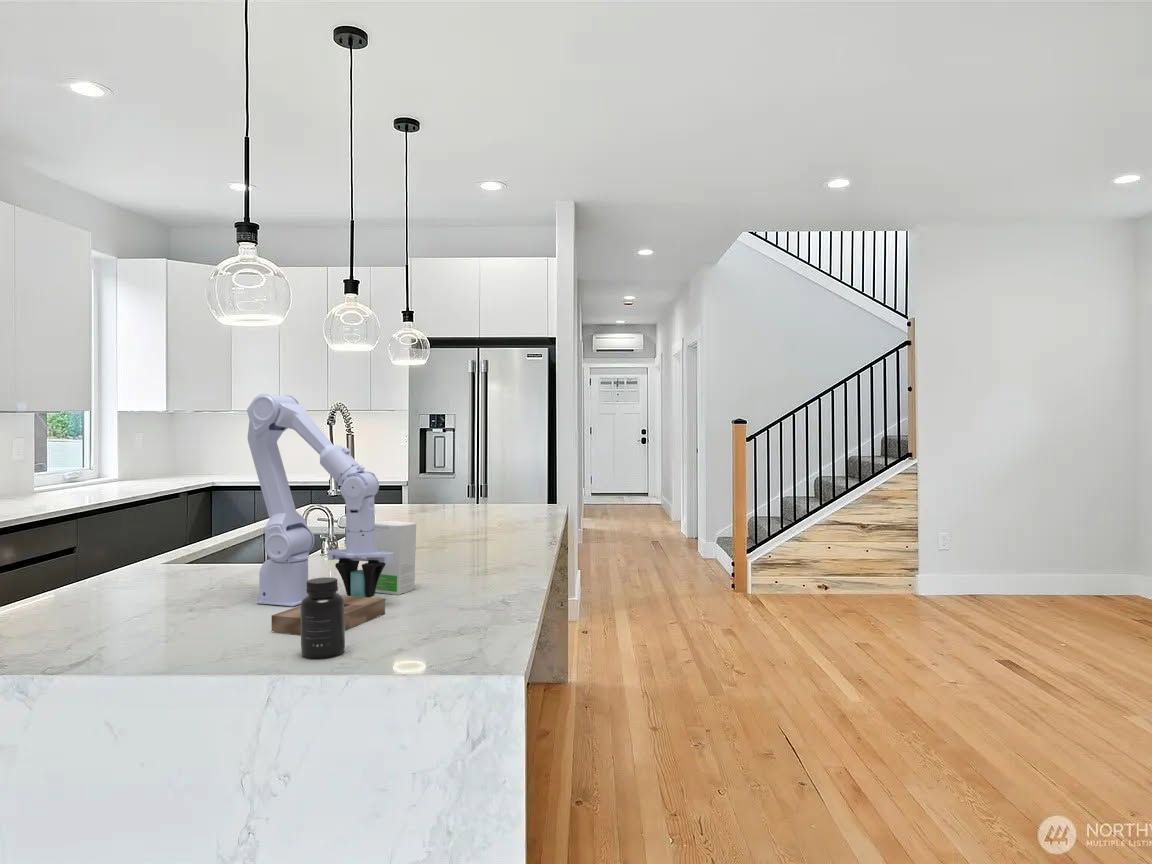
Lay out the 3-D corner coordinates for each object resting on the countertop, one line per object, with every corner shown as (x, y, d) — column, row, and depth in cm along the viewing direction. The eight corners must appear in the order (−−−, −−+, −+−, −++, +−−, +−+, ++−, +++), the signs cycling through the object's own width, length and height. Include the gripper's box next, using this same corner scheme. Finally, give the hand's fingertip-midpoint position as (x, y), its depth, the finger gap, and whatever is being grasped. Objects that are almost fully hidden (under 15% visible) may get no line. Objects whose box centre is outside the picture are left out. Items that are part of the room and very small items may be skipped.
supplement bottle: (307, 647, 126) (306, 576, 126) (348, 646, 127) (348, 575, 127) (295, 660, 119) (295, 584, 119) (339, 659, 120) (339, 583, 120)
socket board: (271, 632, 136) (271, 615, 136) (333, 609, 153) (333, 594, 153) (327, 637, 132) (327, 620, 132) (384, 613, 149) (384, 598, 149)
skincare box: (368, 592, 169) (368, 523, 169) (386, 586, 175) (386, 519, 175) (400, 595, 166) (399, 524, 166) (417, 589, 172) (416, 521, 172)
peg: (346, 606, 156) (346, 572, 156) (358, 602, 159) (357, 569, 159) (363, 607, 154) (363, 573, 154) (374, 603, 158) (374, 570, 158)
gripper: (318, 531, 155) (319, 597, 155) (379, 534, 151) (380, 602, 151) (339, 527, 162) (340, 590, 162) (398, 529, 158) (399, 594, 158)
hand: (360, 595), depth 157 cm, fingers closed on peg, 4 cm apart
